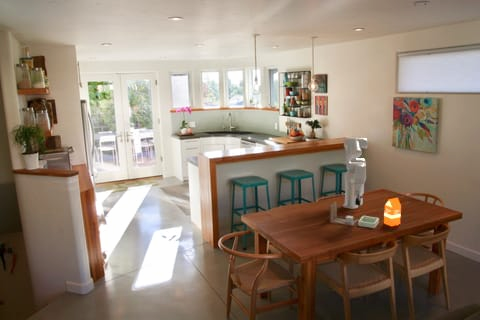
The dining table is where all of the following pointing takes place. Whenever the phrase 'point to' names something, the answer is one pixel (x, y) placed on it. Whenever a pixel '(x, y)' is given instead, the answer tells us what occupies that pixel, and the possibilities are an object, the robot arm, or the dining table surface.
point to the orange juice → (392, 212)
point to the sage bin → (368, 221)
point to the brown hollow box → (338, 219)
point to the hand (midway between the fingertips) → (358, 203)
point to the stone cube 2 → (349, 219)
